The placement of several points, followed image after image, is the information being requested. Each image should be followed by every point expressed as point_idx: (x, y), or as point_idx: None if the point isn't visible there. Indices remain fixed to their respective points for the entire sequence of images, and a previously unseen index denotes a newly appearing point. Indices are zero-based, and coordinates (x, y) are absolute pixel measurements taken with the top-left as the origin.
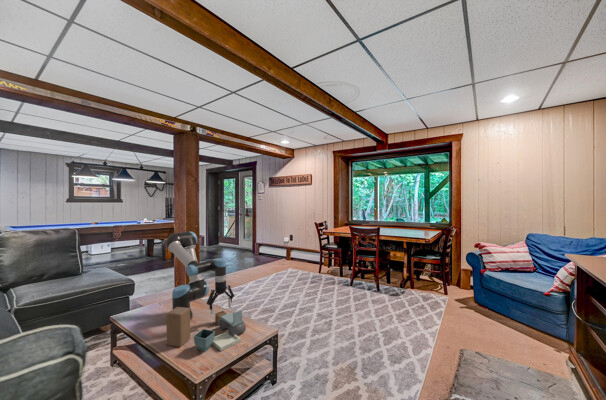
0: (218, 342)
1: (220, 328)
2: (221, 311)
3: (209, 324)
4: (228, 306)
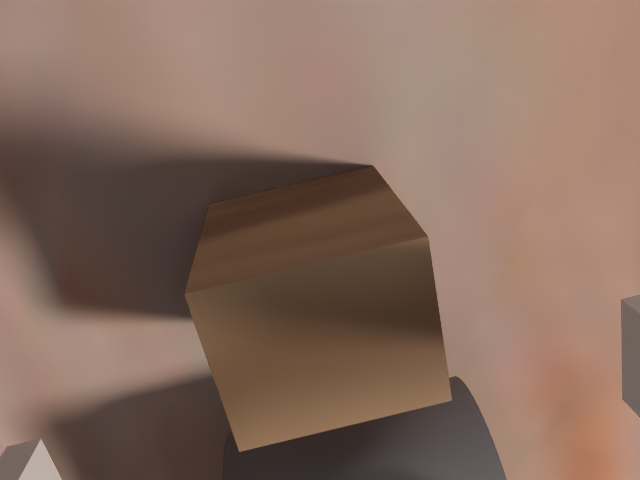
0: None
1: None
2: (375, 261)
3: (93, 194)
4: (634, 314)
